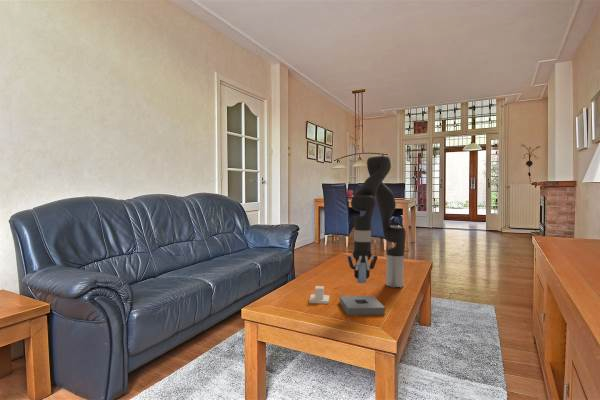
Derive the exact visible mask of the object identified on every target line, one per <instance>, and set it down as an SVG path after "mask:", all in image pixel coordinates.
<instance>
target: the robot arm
mask: <svg viewBox="0 0 600 400" xmlns="http://www.w3.org/2000/svg"><path fill="white" fill-rule="evenodd" d="M391 166H392V163H391V159H390V157H389V156H388V155H378V156H371V157H369V158H368V159H367V160H366V167H367V170H368V171H367V172H368V174H369V176H368V177H367V178H366V180H364V182H363V184H362V186H361V188H360V189H359V190H358V191H356V193H355V194H354V195H353V196H352V198H351V201H350V206H351V208H352V209H353V210H354V211H356V212H365V213H364V214H363V215H359V216H355V218H354V233H353V252H352V254H349V255H346V259H347V262H348V264H349V268H350V269H351V270H353V276H354V278H355V279H356V280H357V279H358V267H359V265H360V262H366V267H367V269H366V280H367V279H369V278H370V272H371V271H370V270H374V269H375V266H376V263H377V260H378V256H377V255H376V254H372V231H371V229H372V228H371V227H372V225H371V224H372V218H373V213H374V210H375V208H376V204H377V207H378V211H379V215H380V219H381V225H382V231H383V237H384V239H385V241H386V242H387V243H395V246H394V247H390V248H387V249H386V267H385V272H386V273H385V285H386V287H389V286H390V288H395V287H400V288H402V286H403V287H404V264H405V262H404V261H405V249H406V248H405V247H406V235H407V233H406V229H405V227H404V226H396V225H392V222H391V219H392V215H393V214H394V212H395V210H396V206H397V205H396V200H395V195H394V193H393V191H392V190H391V189H390V187H388V186H387V185H386V184H385V183H384V182H383V181H384V179H385V178H386V177H387V175H388V174H389V172H390V171H391V168H392V167H391ZM353 259H355V261H354V263H353ZM370 259H371V262H369V261H370Z"/></svg>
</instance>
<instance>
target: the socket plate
mask: <svg viewBox="0 0 600 400" xmlns="http://www.w3.org/2000/svg"><path fill="white" fill-rule="evenodd" d="M339 303H340V305H341V307H342V309H343V310H344V312H345V313H346V315H347V316H374V315H375V316H376V315H377V316H378V315H382V316H383V315H386V307H385V306H384V305H383V304H382V303H381V302H380V300H378V299H377V298H376V296H374V295H340V296H339Z"/></svg>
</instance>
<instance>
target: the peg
mask: <svg viewBox="0 0 600 400" xmlns="http://www.w3.org/2000/svg"><path fill="white" fill-rule="evenodd" d="M366 269H367V267H366V262H360V265H359V267H358V279H356V283H359V284H367V279H366Z"/></svg>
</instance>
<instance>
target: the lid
mask: <svg viewBox="0 0 600 400" xmlns="http://www.w3.org/2000/svg"><path fill="white" fill-rule="evenodd" d="M329 301H330V294H329V295H328V294H325V286H324V285H321V286H320V285H315V289H314V293H311V294H310V297H309V300H308V302H309V304H324V305H325V304H326V305H328V304H330V303H329Z"/></svg>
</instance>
